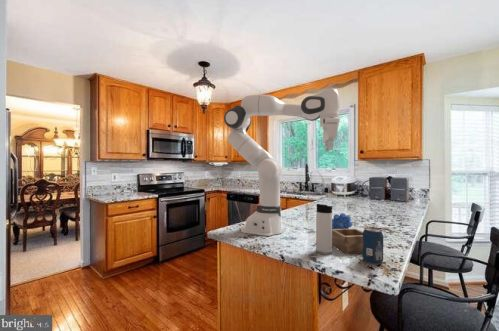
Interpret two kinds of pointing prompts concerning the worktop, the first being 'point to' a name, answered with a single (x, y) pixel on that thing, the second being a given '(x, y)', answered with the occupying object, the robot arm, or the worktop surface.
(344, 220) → the grapes
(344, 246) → the wooden cubby frame
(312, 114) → the robot arm
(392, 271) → the worktop surface
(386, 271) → the worktop surface
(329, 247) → the travel mug
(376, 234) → the soda can
